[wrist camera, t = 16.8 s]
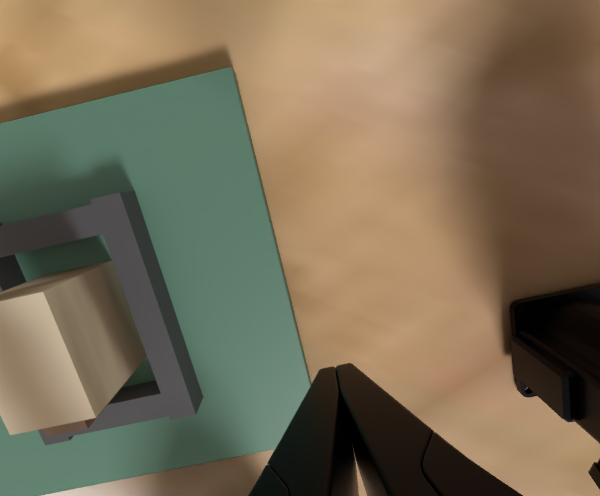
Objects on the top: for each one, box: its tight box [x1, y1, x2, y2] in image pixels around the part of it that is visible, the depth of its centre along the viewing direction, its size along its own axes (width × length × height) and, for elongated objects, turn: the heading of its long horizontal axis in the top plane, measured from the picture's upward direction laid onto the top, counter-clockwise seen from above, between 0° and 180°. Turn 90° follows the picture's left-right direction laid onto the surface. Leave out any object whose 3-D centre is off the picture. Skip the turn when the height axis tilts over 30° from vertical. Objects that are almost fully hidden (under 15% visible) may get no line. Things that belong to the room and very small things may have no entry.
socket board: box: [0, 67, 311, 496], centre depth 18 cm, size 22×22×2 cm
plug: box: [0, 260, 147, 437], centre depth 16 cm, size 4×7×5 cm, turn 13°
